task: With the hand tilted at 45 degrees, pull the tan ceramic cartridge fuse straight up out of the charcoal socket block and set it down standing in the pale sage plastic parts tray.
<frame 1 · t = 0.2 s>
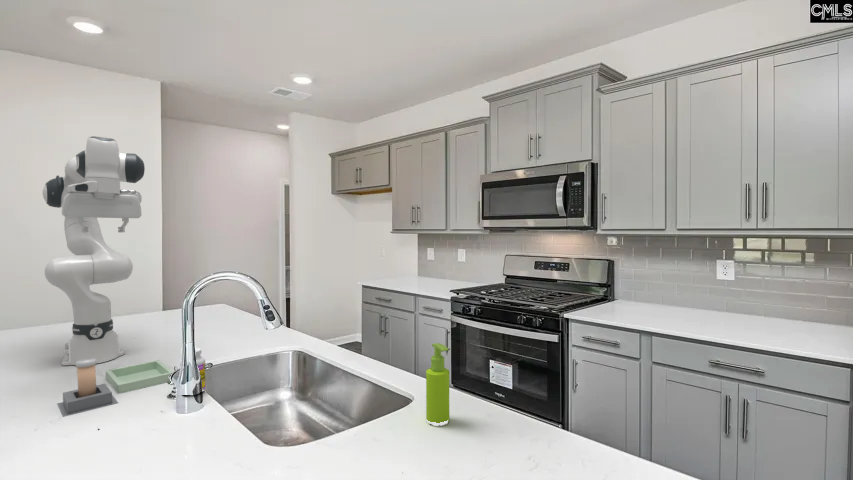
hand: (103, 232, 140), 48 cm above the countertop, tool pointing down, fingers open, 8 cm apart
fuse: (87, 403, 123), point 1 cm above the countertop, touching socket block
parts tray: (140, 382, 141), on the countertop
supplement bottle: (193, 393, 133), on the countertop
socket block: (87, 406, 123), on the countertop
soap dispenser: (438, 422, 113), on the countertop
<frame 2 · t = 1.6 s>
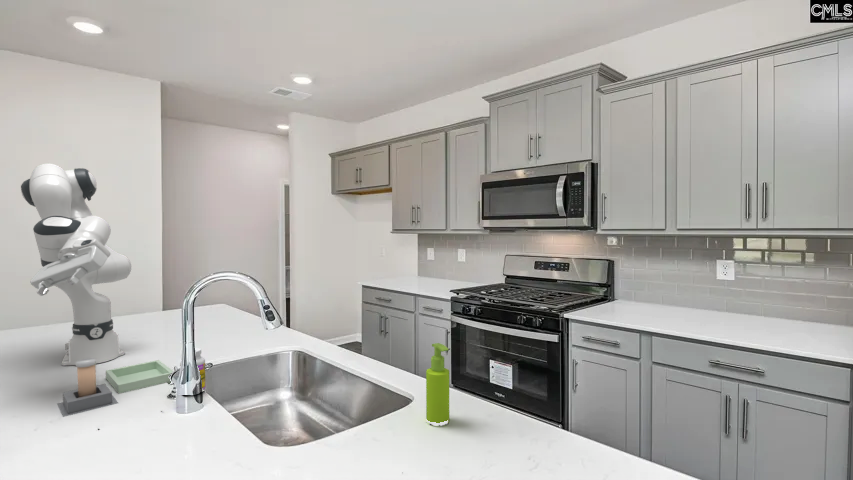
hand: (56, 288, 122), 33 cm above the countertop, tool tilted 55°, fingers open, 8 cm apart
nothing on the countertop moved.
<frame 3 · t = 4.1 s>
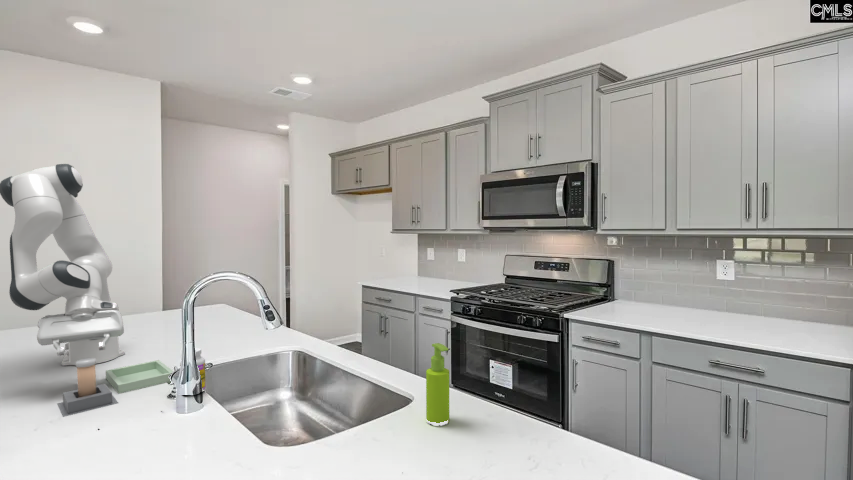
hand: (81, 351, 127), 14 cm above the countertop, tool tilted 45°, fingers open, 8 cm apart
nothing on the countertop moved.
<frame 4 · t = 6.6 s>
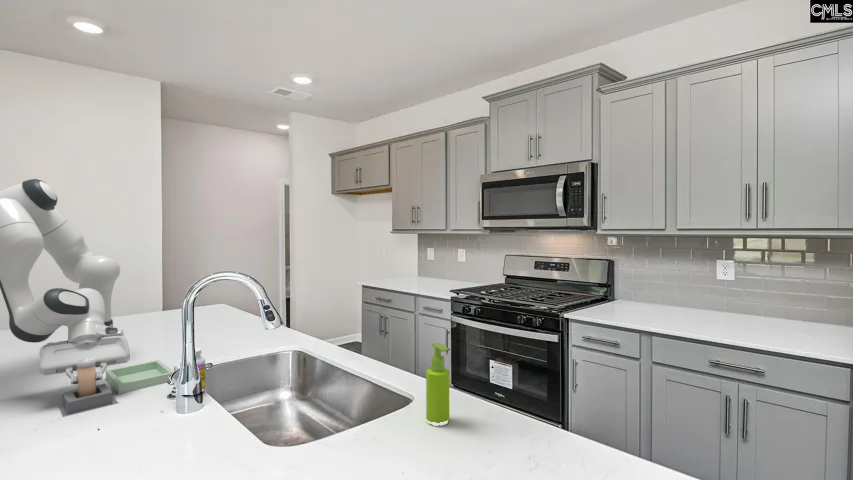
hand: (86, 381, 122), 7 cm above the countertop, tool tilted 45°, fingers closed on fuse, 4 cm apart
fuse: (87, 403, 123), point 1 cm above the countertop, touching gripper, socket block
everything else where it was.
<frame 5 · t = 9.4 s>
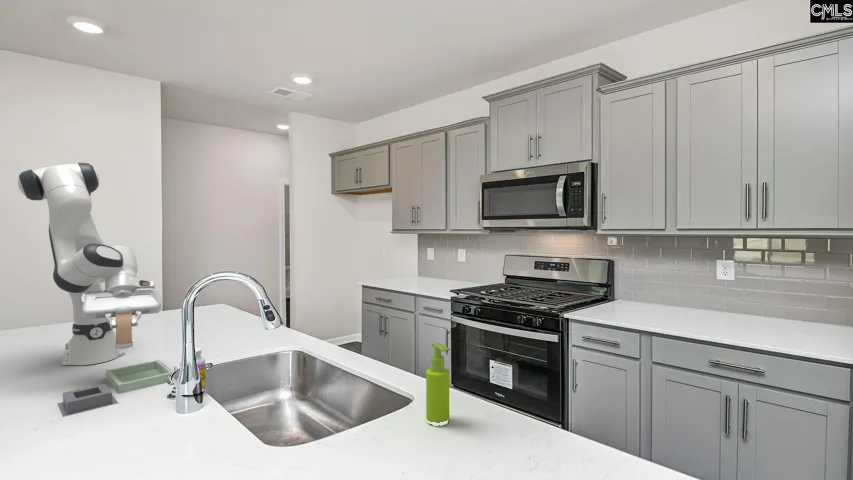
hand: (124, 326, 134), 20 cm above the countertop, tool tilted 45°, fingers closed on fuse, 4 cm apart
fuse: (124, 346, 135), point 13 cm above the countertop, touching gripper
everything else where it was.
when the fingers open (9 cm above the countertop, at t = 12.3 s): fuse drops 2 cm, resting on parts tray.
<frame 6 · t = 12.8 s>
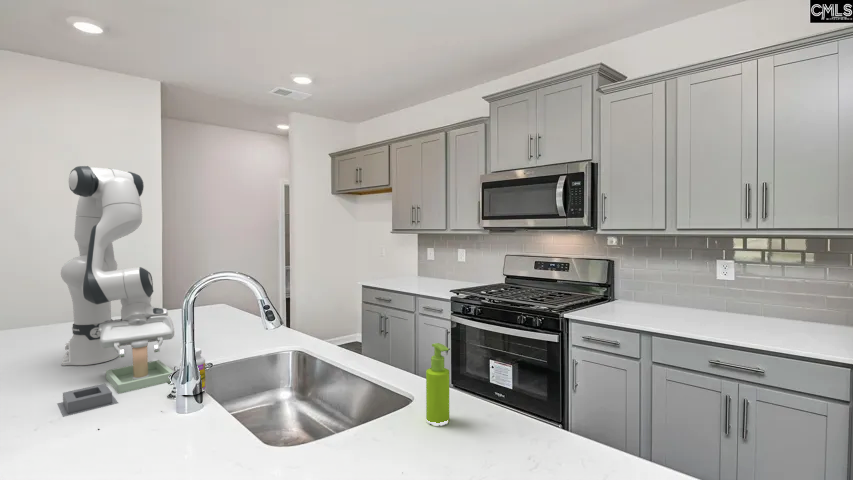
hand: (139, 353, 140), 9 cm above the countertop, tool tilted 45°, fingers open, 8 cm apart
fuse: (141, 379, 141), point 1 cm above the countertop, touching parts tray
everything else where it was.
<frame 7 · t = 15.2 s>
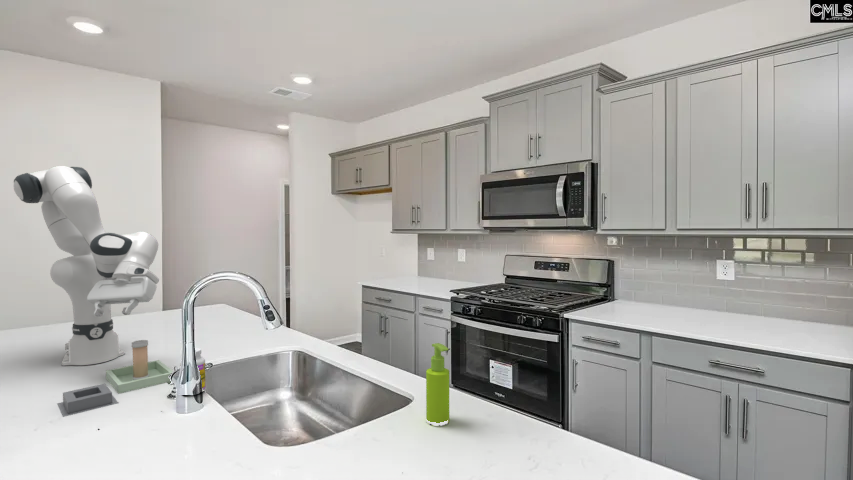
hand: (111, 314, 136), 23 cm above the countertop, tool tilted 40°, fingers open, 8 cm apart
nothing on the countertop moved.
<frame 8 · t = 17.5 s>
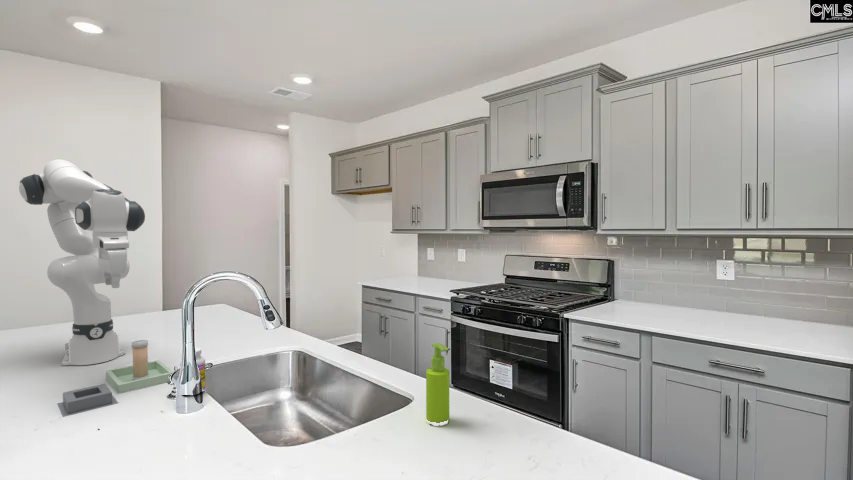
hand: (112, 286, 137), 31 cm above the countertop, tool pointing down, fingers open, 8 cm apart
nothing on the countertop moved.
at the end: fuse inside the target area on the parts tray (0.2 cm from its centre), point 1.0 cm above the parts tray's base; fuse touching parts tray; the gripper is holding nothing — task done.
